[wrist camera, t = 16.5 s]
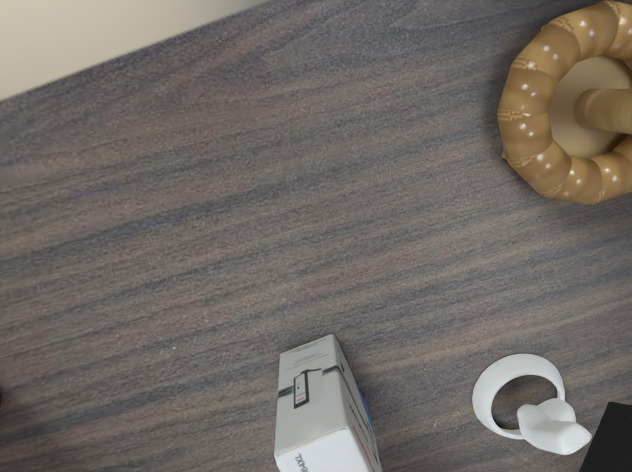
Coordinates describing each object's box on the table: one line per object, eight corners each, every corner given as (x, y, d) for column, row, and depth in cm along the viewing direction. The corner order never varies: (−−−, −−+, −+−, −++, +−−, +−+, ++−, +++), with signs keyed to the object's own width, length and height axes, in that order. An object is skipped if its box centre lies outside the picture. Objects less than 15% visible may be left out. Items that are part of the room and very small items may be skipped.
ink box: (371, 415, 42) (402, 536, 30) (316, 436, 42) (326, 564, 31) (333, 329, 39) (351, 427, 28) (275, 352, 39) (270, 458, 28)
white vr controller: (556, 317, 34) (641, 403, 32) (516, 339, 45) (576, 403, 43) (472, 388, 33) (553, 481, 31) (453, 392, 45) (511, 461, 42)
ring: (525, -13, 31) (548, -23, 29) (702, 30, 33) (742, 25, 30) (470, 179, 35) (486, 188, 32) (633, 211, 36) (662, 222, 33)
